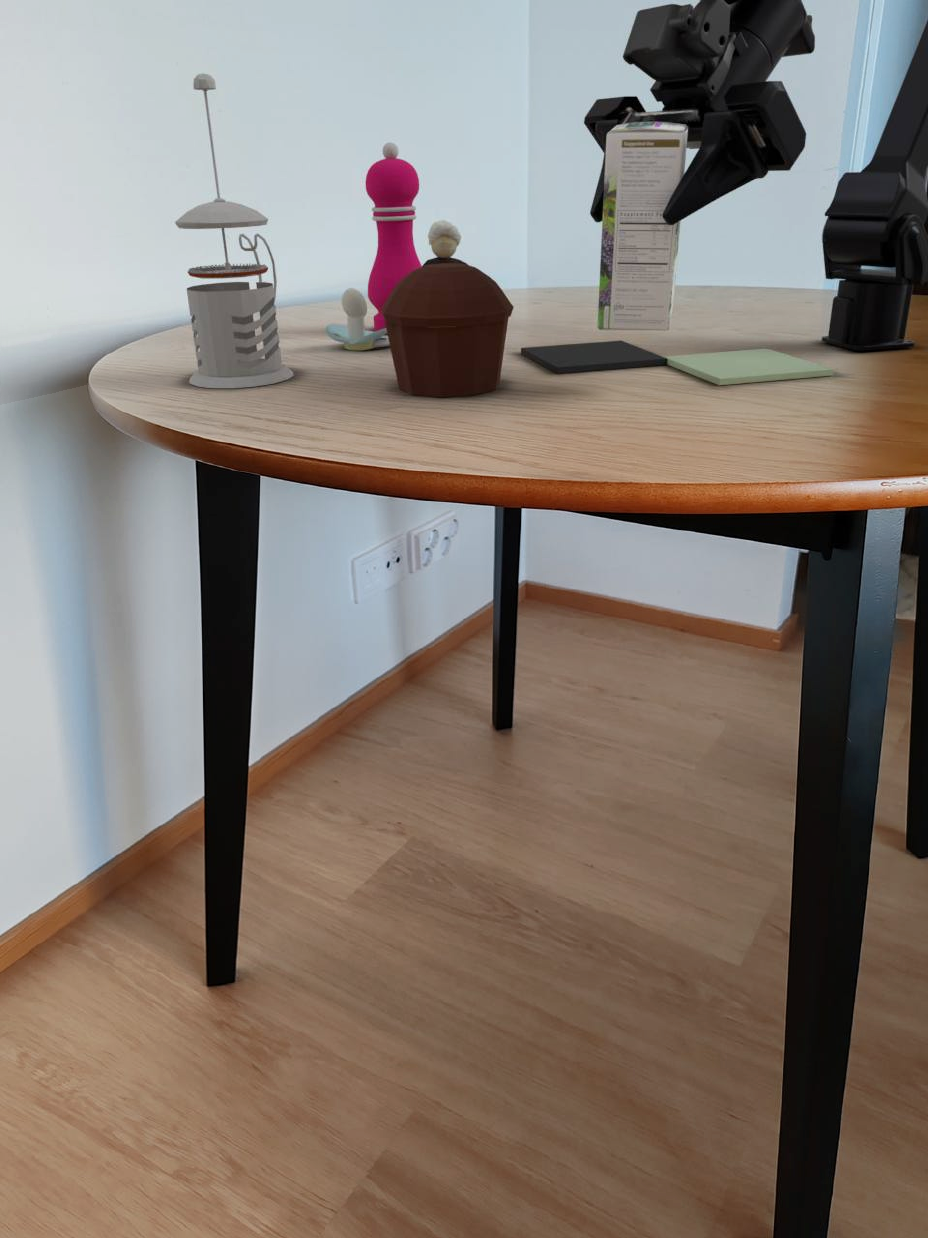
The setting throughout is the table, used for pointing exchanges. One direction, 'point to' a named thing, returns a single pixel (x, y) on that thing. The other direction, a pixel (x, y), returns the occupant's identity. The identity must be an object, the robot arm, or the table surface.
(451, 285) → the muffin
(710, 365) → the sage mat
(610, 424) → the table surface
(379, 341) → the pacifier
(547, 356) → the charcoal mat
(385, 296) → the pepper mill
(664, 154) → the syrup box
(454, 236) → the grandmother figurine
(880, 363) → the table surface
